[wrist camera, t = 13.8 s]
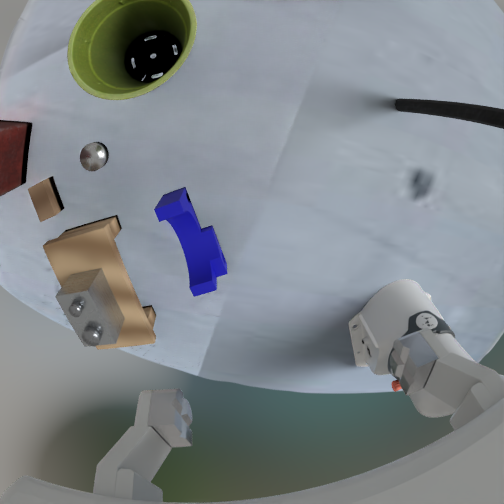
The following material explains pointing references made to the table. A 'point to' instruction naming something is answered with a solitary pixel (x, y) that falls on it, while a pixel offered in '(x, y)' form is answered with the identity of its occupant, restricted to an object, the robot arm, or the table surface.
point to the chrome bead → (94, 156)
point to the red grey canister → (13, 154)
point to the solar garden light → (454, 110)
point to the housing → (91, 308)
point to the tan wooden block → (46, 199)
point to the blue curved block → (193, 241)
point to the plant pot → (129, 45)
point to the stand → (108, 258)
